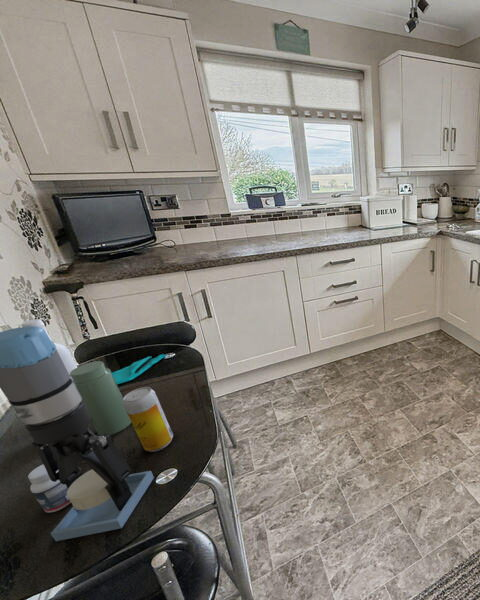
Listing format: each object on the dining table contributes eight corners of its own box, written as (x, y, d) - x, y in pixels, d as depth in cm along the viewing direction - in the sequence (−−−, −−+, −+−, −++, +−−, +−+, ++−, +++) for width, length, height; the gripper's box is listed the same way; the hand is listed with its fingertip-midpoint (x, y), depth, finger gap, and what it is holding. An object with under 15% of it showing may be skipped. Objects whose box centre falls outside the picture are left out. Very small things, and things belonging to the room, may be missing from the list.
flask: (90, 438, 85) (57, 378, 78) (110, 418, 92) (81, 362, 85) (122, 433, 86) (92, 373, 79) (139, 414, 93) (113, 357, 86)
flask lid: (69, 496, 63) (62, 485, 62) (118, 467, 69) (113, 457, 68) (79, 518, 59) (71, 506, 58) (131, 485, 65) (125, 474, 64)
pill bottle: (42, 505, 67) (20, 473, 64) (75, 485, 71) (56, 455, 68) (48, 518, 64) (25, 485, 61) (82, 497, 68) (63, 465, 65)
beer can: (144, 443, 81) (120, 394, 76) (172, 430, 85) (152, 382, 80) (145, 457, 77) (121, 406, 72) (175, 443, 80) (154, 393, 75)
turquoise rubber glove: (75, 401, 101) (71, 395, 101) (76, 383, 111) (73, 378, 110) (172, 366, 117) (170, 360, 116) (166, 353, 127) (164, 348, 126)
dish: (55, 541, 60) (50, 533, 59) (98, 487, 70) (94, 480, 69) (121, 528, 61) (117, 520, 60) (154, 477, 71) (150, 470, 71)
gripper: (-22, 427, 55) (43, 520, 63) (84, 428, 52) (137, 525, 60) (29, 398, 62) (82, 485, 70) (125, 398, 59) (168, 488, 67)
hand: (107, 503), depth 65 cm, fingers closed on flask lid, 8 cm apart
